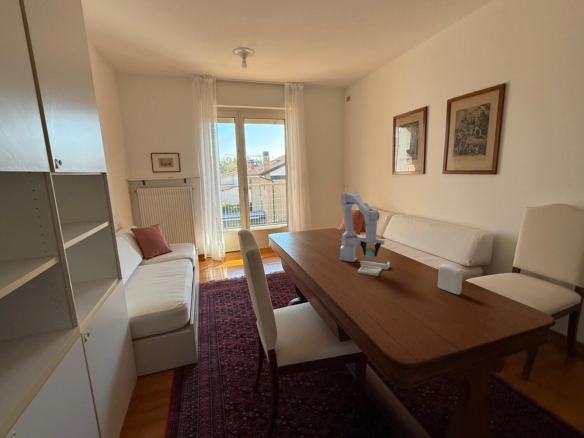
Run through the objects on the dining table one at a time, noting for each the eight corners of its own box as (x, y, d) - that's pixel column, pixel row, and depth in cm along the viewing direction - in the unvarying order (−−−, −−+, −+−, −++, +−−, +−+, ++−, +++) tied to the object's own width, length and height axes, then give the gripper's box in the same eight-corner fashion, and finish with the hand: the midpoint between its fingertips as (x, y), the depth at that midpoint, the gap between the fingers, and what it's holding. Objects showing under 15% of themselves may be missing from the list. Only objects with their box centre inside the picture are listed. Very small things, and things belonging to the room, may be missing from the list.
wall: (360, 265, 160) (360, 260, 160) (362, 262, 165) (363, 258, 165) (387, 269, 152) (387, 264, 152) (389, 266, 157) (389, 262, 157)
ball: (364, 258, 148) (364, 249, 148) (366, 256, 153) (366, 246, 152) (374, 259, 146) (374, 250, 145) (376, 257, 150) (376, 247, 150)
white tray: (357, 272, 149) (357, 270, 148) (362, 266, 158) (362, 264, 158) (377, 276, 143) (377, 273, 143) (381, 269, 152) (381, 267, 152)
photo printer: (435, 287, 127) (437, 262, 126) (441, 285, 129) (443, 261, 127) (456, 295, 118) (459, 269, 116) (462, 293, 120) (465, 267, 118)
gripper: (356, 232, 147) (355, 255, 149) (382, 234, 140) (382, 259, 142) (359, 229, 153) (359, 252, 155) (385, 232, 146) (384, 255, 148)
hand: (370, 255), depth 149 cm, fingers closed on ball, 6 cm apart
